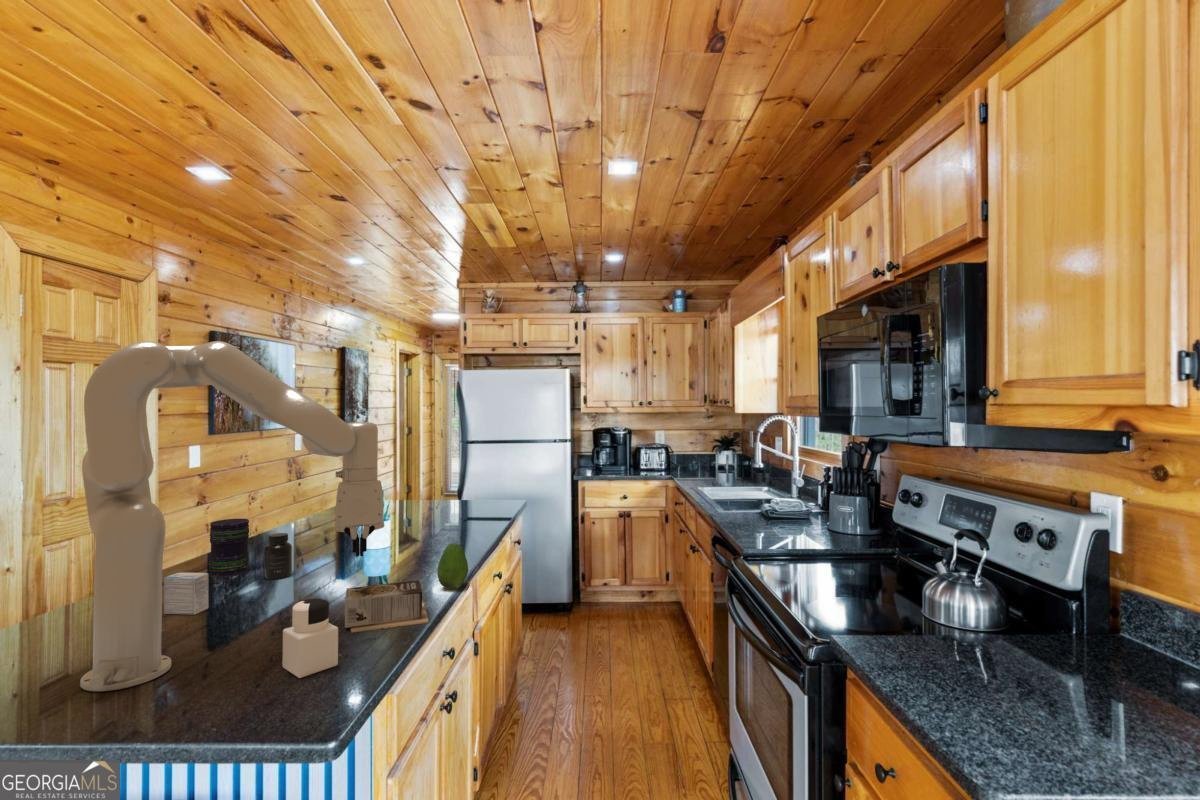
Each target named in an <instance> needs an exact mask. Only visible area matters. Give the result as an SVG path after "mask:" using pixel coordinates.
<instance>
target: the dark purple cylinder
mask: <svg viewBox="0 0 1200 800" xmlns="http://www.w3.org/2000/svg"><path fill="white" fill-rule="evenodd" d="M249 523H250V520H249V519H248V518H228V519H226V518H225V519H219V520H214V521H212V522H210V523H209V525H210V526H209V527H210V529H209V531H210V532H209V542H210V556H209V562H208V563H209V564H208V566H209V577H212V578H229V577H235V576H239V575H242V574H246V573H248V572H249V563H250V557H249V555H250V553H249V552H250V551H248V550H249V548H248V546H249V545H248V544H249V541H248V540H249V539H250V524H249Z"/></svg>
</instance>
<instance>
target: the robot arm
mask: <svg viewBox="0 0 1200 800" xmlns="http://www.w3.org/2000/svg"><path fill="white" fill-rule="evenodd" d="M204 386H212V387H214V388H215V389H216V390H218V391H220V392H221V393H223V394H224V395H226V396H227V397H228V398H230V399H232V400H233V401H235V402H236V403H238V404H239V405H241V406H242V407H243V408H244V409H246V410H247V411H249V412H251V413H252V414H254V415H255V416H257V417H259V418H261V419H263V420H265V421H268V422H270V423H274V424H277V425H280V426H283V427H285V428H287V429H288V430H291V431H293V432H295V433H296V434H298V435H300V436H301V437H302V444H303V446H304V447H305V449H306V450H307V451H308V452H309V453H311V454H314V455H318V456H325V457H332V458H334V457H335V458H338V457H342V469H341V470H338V471H335V478H340V479H341V480H342V481H340V482H339V483H338V484H337V485H338V486H337V491H336V498H335V513H334V514H335V515H334V516H335V525H334V527H333V530H334V531H335V532H339V533H344V534H346V535H347V536H348V537H349V538H351V539H352V554H353V553H355V557H356V558H358V557H364V553H365V552H367V543H368V537H369V536H370V535H371V534H372V533H373V532H374V531H376V530H381V529H383V528H384V527H385V522H384V513H385V512H384V492H383V486H382V481H381V480H378V463H379V462H378V460H379V459H378V457H379V456H378V452H379V451H378V450H379V442H378V439H379V436H378V435H379V431H378V430H379V429H378V426H377V425H376V423H374V422H369V421H367V422H365V421H364V422H361V421H359V422H356V421H354V422H348V423H347V422H346V421H344V420H343V419H342V418H341V417H339V416H337V415H336V414H335V413H334V412H332V411H331V410H329V409H328V408H327V407H325V406H324V405H322V404H321V403H319V402H317V401H316V400H314V399H313V398H310V397H309V396H307V395H305V394H303V393H302V392H301V391H299V390H297V389H296V388H294V387H292V386H290V385H288V384H287V383H285V381H283V380H281V379H279V378H278V377H277V376H276V375H275V374H273V373H271V372H270V371H268V370H267V369H266V368H265V367H263V366H262V365H261V364H259V363H258V362H256V361H255V360H254V359H252V358H251V357H250V356H248V355H247V354H245V352H243V351H241V350H240V349H239V348H237V347H236V346H234V345H233V344H230V343H229V342H225V341H221V340H220V341H219V340H216V341H210V342H206V343H204V344H197V345H195V344H194V345H164V344H162V343H160V342H156V341H151V340H141V341H135V342H133V343H131V344H128V345H126V346H124V347H122V348H120V349H118V350H116V351H115V352H113V353H112V354H110V355H109V356H108V357H106V358H105V359H104V360H102V361H101V362H100V363H99V365H98V366H97V367H96V368H95V370H94V371H93V373H92V374H91V375H90V377H89V379H88V381H87V384H86V386H85V391H84V397H83V410H84V411H83V413H84V415H83V416H84V425H85V430H84V431H85V438H86V448H87V451H86V452H85V454H84V456H83V458H82V460H81V462H82V463H81V472H82V473H81V474H82V482H83V487H84V489H83V490H84V495H85V502H86V503H85V504H86V510H87V516H88V521H89V526H90V530H91V532H92V533H93V535H94V539H95V540H94V541H95V542H94V543H95V550H94V565H93V622H92V623H93V628H92V629H93V631H92V632H93V633H92V634H93V635H92V636H93V637H92V638H93V639H92V669H91V670H89V671H88V672H86V673H84V674H83V676H81V678H80V682H79V687H80V688H81V689H83V690H84V691H88V692H109V691H116V690H122V689H127V688H131V687H134V686H138V685H142V684H144V683H147V682H150V681H152V680H155V679H157V678H159V677H160V676H162V675H164V674H166V673H167V672H168V671H170V669H171V667H172V658H171V657H169V656H167V655H163V654H162V621H163V619H162V614H163V610H162V609H163V608H162V607H163V558H164V557H163V556H164V548H165V547H164V546H165V540H166V520H165V517H164V515H163V512H162V511H161V510H160V509H161V508H159V507H158V506H157V505H156V504H155V503H153V502H152V495H151V489H150V480H149V479H150V477H151V476H152V473H153V470H154V464H155V463H154V458H153V453H152V448H151V442H150V436H149V435H150V434H149V429H148V415H147V402H148V399H149V396H150V394H151V393H152V391H153V390H155V389H174V388H189V387H192V388H193V387H204ZM357 527H363V528H362V533H361V535H360V537H359V533H358V531H357Z"/></svg>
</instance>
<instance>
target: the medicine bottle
mask: <svg viewBox="0 0 1200 800" xmlns="http://www.w3.org/2000/svg"><path fill="white" fill-rule="evenodd" d="M329 609H330V602H328V600H326V599H324V598H317V597H316V598H307V599H304V600H301V601H298V602H297V603H295V604H294V605H293V606H292V610H291V611H292V618H291V619H292V626H290V627H286V628H284V629H283V630H282V668H283V669H284V670H286V671H287V672H289V673H291V674H292V675H294V676H296V677H297V678H298V679H301V678H304V677H307V676H311V675H313V674H316V673H319V672H322V671H324V670H327V669H330V668H333V667H336V666H338V665H339V627H338V626H336V625H333V624H332V623H330V621H329V620H330V619H329V616H330V615H329V614H330V611H329Z"/></svg>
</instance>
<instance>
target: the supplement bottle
mask: <svg viewBox="0 0 1200 800" xmlns="http://www.w3.org/2000/svg"><path fill="white" fill-rule="evenodd" d="M288 541H289V533H286V532H277V533H272V534H269V536H268V544H267V545H266V547H265V548H264V577H265V578H266V579H267V580H280V579H286V578H288V577H290V576H292V574H293V547H292V546H293V545H292V544H291V543H290V542H288Z"/></svg>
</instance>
